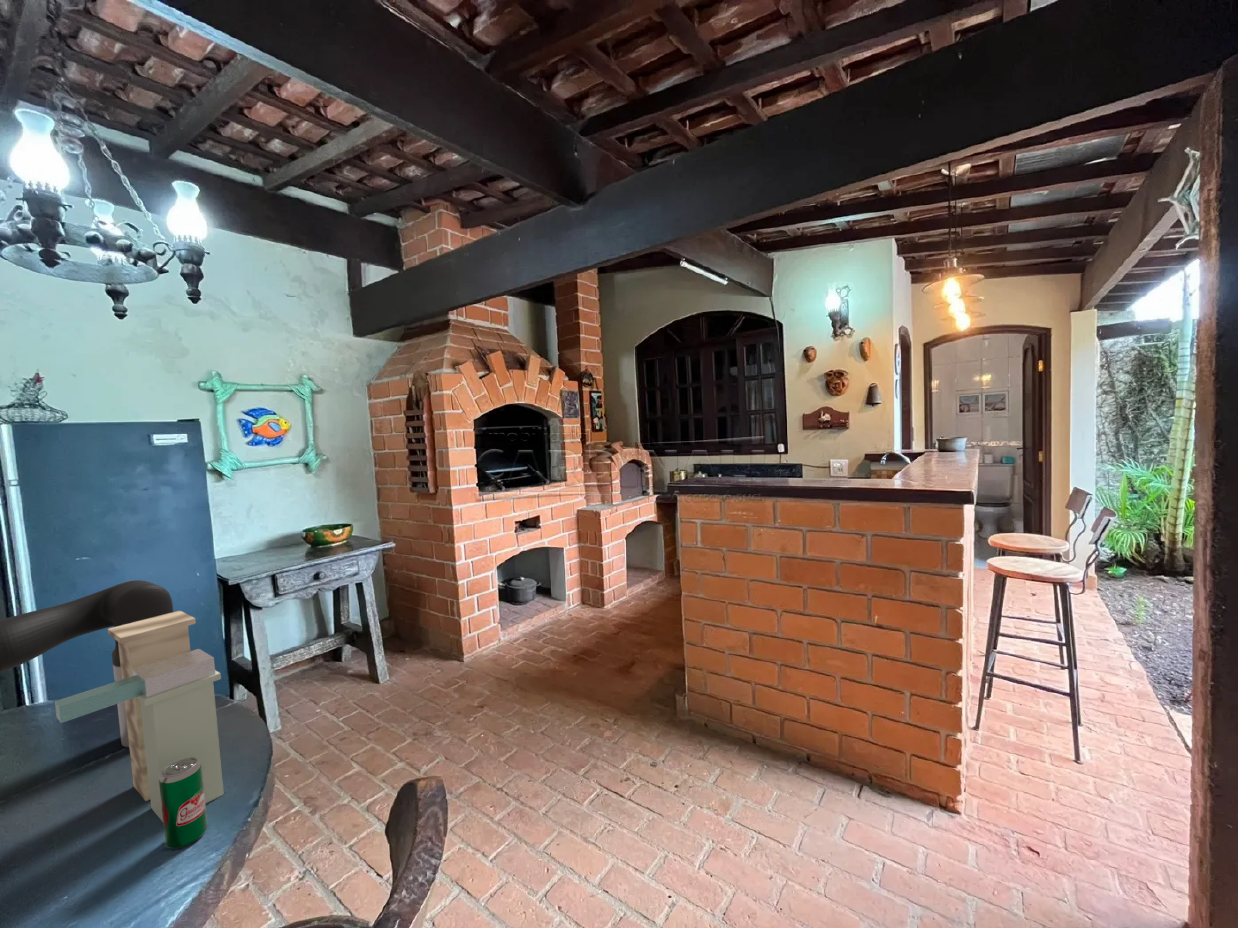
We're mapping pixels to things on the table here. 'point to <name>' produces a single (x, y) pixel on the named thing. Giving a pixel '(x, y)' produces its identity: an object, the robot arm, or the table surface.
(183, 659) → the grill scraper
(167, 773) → the soda can
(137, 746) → the high stand
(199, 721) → the low stand
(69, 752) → the table surface
